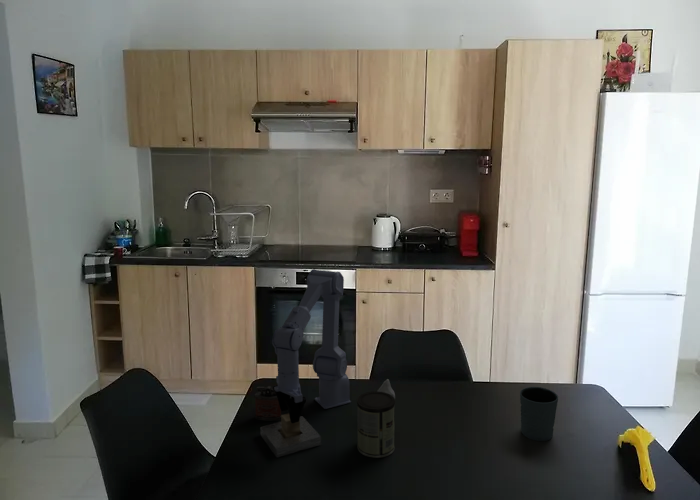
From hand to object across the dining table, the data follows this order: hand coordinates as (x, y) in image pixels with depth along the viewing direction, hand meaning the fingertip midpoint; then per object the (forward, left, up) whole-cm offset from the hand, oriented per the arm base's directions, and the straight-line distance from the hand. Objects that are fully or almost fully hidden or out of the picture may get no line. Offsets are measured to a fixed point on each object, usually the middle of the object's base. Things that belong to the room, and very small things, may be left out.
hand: (289, 415), depth 146 cm
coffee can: (-19, +15, -8) cm, 25 cm away
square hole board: (0, 0, -7) cm, 7 cm away
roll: (-31, +1, -8) cm, 32 cm away
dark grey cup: (-63, +31, -8) cm, 71 cm away
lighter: (+1, -15, -7) cm, 17 cm away
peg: (0, 0, -7) cm, 7 cm away
